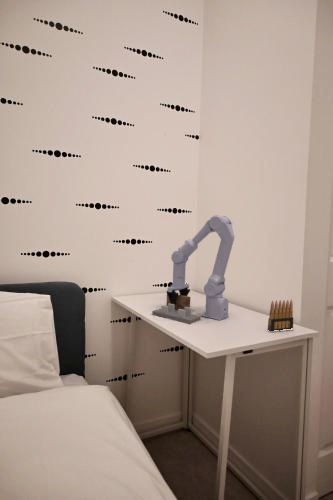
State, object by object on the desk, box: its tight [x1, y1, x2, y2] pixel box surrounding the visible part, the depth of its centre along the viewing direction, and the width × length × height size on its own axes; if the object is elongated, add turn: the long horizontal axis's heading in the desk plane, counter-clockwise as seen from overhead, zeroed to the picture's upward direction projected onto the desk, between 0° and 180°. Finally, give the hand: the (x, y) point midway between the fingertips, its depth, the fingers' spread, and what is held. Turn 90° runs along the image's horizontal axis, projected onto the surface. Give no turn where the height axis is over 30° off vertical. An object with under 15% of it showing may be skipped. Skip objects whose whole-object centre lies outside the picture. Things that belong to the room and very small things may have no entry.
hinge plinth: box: [151, 303, 202, 325], centre depth 136 cm, size 20×8×4 cm, turn 52°
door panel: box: [165, 294, 191, 311], centre depth 149 cm, size 12×3×7 cm, turn 52°
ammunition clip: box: [267, 299, 294, 332], centre depth 122 cm, size 11×2×12 cm, turn 110°
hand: (177, 305), depth 149 cm, fingers open, 7 cm apart
